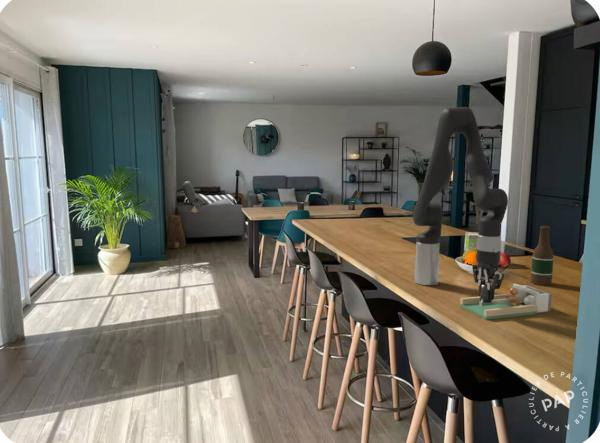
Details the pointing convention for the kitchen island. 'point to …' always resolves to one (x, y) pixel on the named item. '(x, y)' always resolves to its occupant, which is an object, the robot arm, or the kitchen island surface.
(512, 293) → the striker
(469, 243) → the tea box
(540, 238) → the beer bottle
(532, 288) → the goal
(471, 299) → the pitch
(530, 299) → the ball
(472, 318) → the kitchen island surface
